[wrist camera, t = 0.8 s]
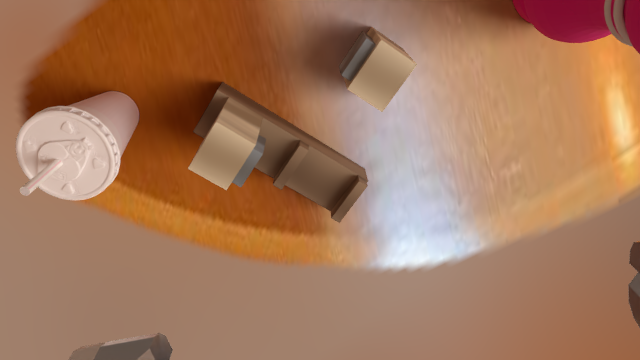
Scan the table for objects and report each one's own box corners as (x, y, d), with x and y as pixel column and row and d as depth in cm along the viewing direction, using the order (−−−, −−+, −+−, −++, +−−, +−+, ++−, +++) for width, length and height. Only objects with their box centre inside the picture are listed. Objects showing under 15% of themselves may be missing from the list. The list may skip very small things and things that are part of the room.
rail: (222, 81, 41) (202, 113, 33) (364, 168, 44) (376, 216, 37) (199, 121, 42) (174, 161, 35) (339, 203, 46) (345, 255, 38)
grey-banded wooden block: (362, 20, 39) (371, 33, 34) (402, 48, 40) (416, 64, 35) (333, 64, 41) (337, 82, 35) (372, 90, 42) (382, 112, 36)
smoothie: (59, 100, 41) (-52, 169, 29) (121, 58, 40) (33, 111, 27) (112, 162, 44) (31, 252, 31) (172, 125, 42) (113, 202, 30)
